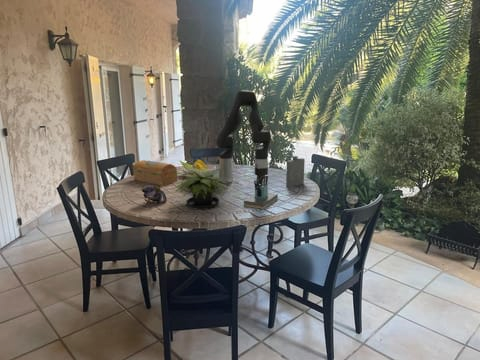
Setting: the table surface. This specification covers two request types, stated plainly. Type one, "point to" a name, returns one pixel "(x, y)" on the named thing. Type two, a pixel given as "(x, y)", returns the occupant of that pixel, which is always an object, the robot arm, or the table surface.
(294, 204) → the table surface
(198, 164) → the fruit bowl
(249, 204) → the block
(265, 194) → the plug
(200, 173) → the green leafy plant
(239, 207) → the table surface
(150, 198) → the dark grey rounded piece
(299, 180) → the hip flask
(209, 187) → the fern plant
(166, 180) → the wooden box
